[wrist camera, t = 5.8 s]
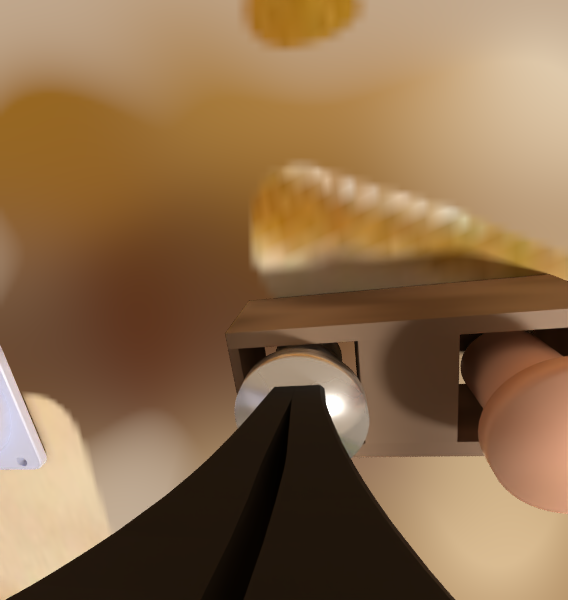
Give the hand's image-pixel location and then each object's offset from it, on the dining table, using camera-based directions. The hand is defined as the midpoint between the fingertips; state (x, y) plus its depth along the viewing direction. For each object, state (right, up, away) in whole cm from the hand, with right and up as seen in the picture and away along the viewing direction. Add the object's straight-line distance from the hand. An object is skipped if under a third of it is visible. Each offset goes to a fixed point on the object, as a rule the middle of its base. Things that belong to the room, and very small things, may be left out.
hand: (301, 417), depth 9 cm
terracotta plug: (+6, +1, +1) cm, 6 cm away
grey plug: (0, +1, +3) cm, 3 cm away
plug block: (+3, +2, +3) cm, 5 cm away
